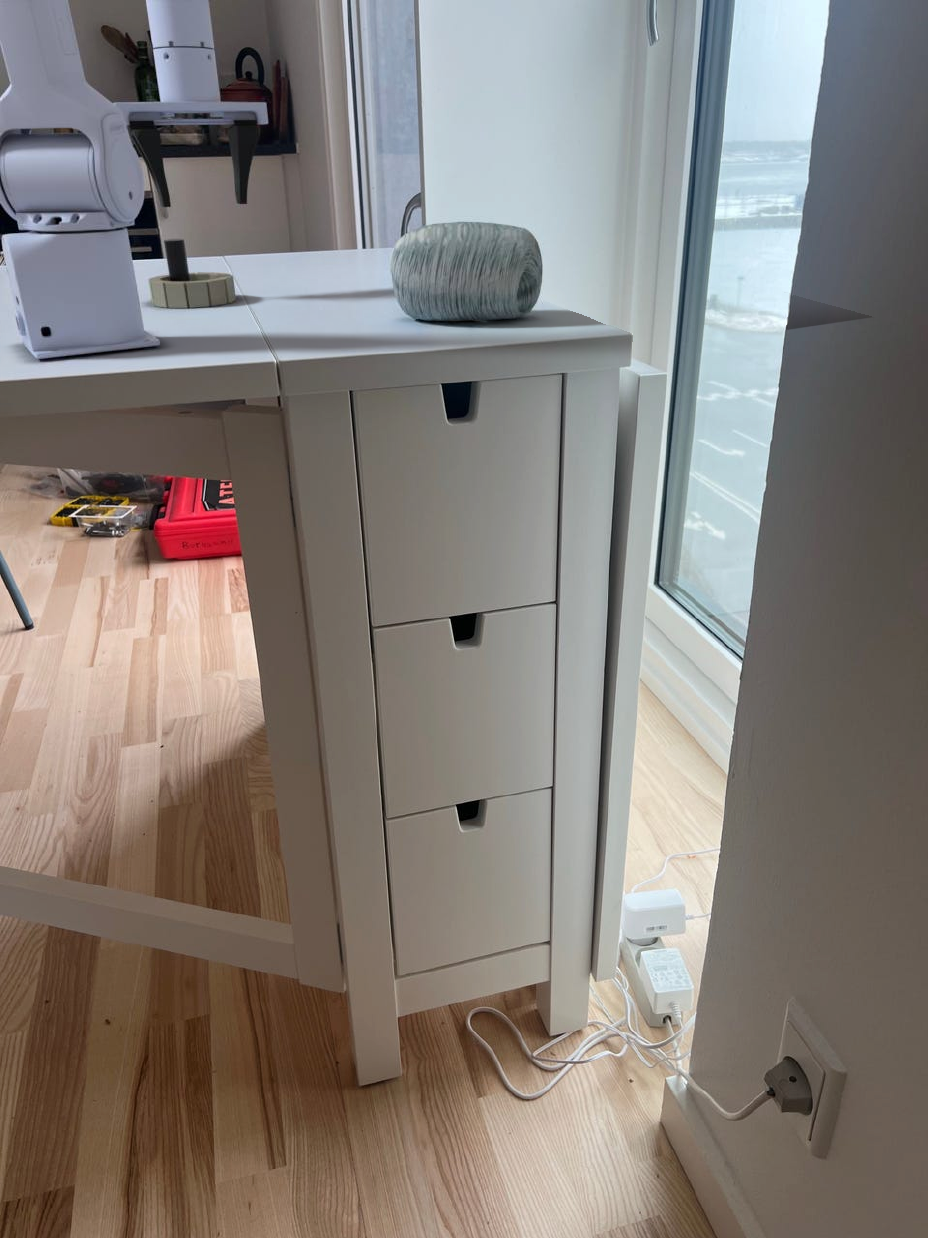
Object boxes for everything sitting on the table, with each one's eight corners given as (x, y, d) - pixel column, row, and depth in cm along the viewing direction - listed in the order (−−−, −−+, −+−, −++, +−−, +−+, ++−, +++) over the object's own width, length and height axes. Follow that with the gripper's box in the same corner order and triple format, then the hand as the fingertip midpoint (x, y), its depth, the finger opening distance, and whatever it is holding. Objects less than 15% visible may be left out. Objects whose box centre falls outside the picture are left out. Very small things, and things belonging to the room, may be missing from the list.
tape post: (176, 303, 96) (166, 241, 93) (171, 300, 97) (161, 239, 95) (195, 301, 97) (186, 239, 94) (189, 298, 98) (181, 238, 95)
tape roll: (186, 310, 91) (182, 284, 90) (136, 303, 96) (132, 279, 95) (251, 299, 97) (248, 275, 96) (201, 293, 102) (198, 270, 101)
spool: (552, 271, 87) (526, 173, 80) (555, 335, 82) (528, 235, 74) (417, 306, 91) (379, 215, 83) (411, 369, 85) (371, 278, 78)
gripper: (250, 54, 94) (265, 200, 100) (101, 52, 89) (127, 205, 95) (265, 48, 88) (281, 203, 94) (107, 45, 83) (134, 209, 89)
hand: (204, 205), depth 94 cm, fingers open, 7 cm apart
